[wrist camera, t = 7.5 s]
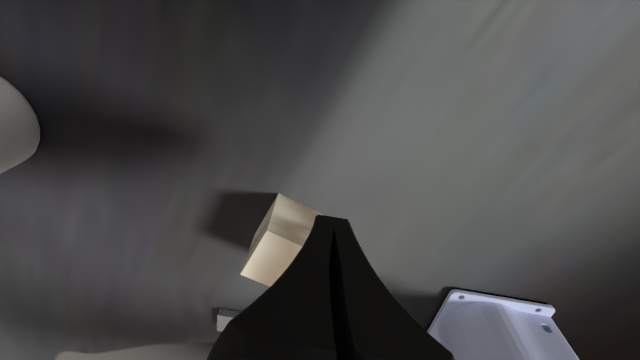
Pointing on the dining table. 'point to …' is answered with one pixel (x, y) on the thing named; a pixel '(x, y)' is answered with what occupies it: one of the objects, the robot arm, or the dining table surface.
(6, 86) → the cup
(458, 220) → the dining table surface
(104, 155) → the dining table surface
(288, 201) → the letter block
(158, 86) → the dining table surface
